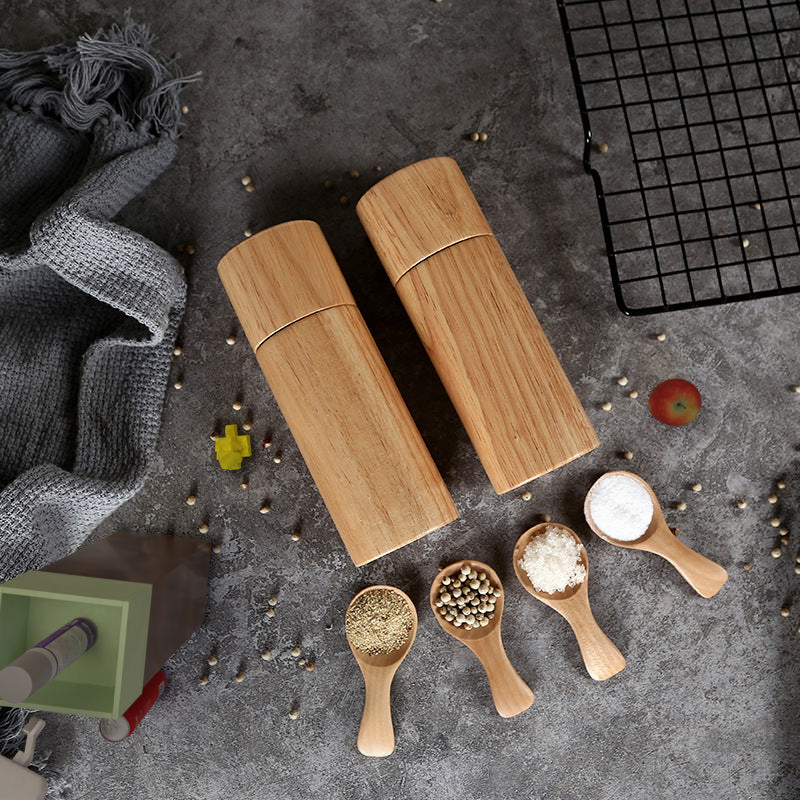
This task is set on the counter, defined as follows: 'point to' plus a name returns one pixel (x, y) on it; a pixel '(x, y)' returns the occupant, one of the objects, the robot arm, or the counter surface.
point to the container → (46, 660)
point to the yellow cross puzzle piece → (232, 448)
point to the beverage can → (133, 711)
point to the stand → (152, 582)
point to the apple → (675, 402)
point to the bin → (100, 665)
